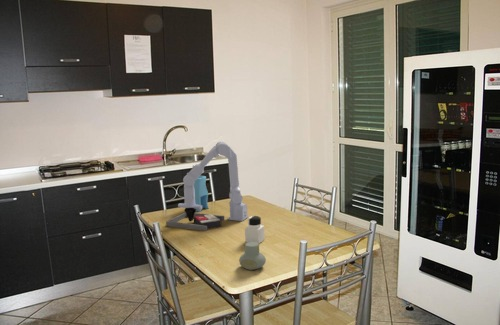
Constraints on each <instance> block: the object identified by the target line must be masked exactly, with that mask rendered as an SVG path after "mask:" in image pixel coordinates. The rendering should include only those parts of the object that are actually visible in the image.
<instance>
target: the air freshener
mask: <svg viewBox="0 0 500 325" xmlns="http://www.w3.org/2000/svg"><path fill="white" fill-rule="evenodd" d="M266 259H267V258H266V256H265V255H264V254H263V253H262V252H260V243H259V244H258V243H257V242H248V243H247V242H245V244H244V253H243V254H241V255H240V256H239V260H238V261H239V262H238V263H239V265H240V266H241V267H243V269H246V270H249V271H254V270H257V269H261V268H262V267H264V265H265V264H266V262H267V260H266Z"/></svg>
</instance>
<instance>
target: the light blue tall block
mask: <svg viewBox="0 0 500 325" xmlns="http://www.w3.org/2000/svg"><path fill="white" fill-rule="evenodd" d="M206 181H207V176H205V175H200V176H199V177H198V179H197V180H195V183H194V190H195V204H198V205H202V209H206V210H207V209H210V208H209V204H208V198H209V192H208V189H207V186H206V184H207V183H206ZM202 209H201V210H199V209H196V211H195V212H199V213H200V212H202Z"/></svg>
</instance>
